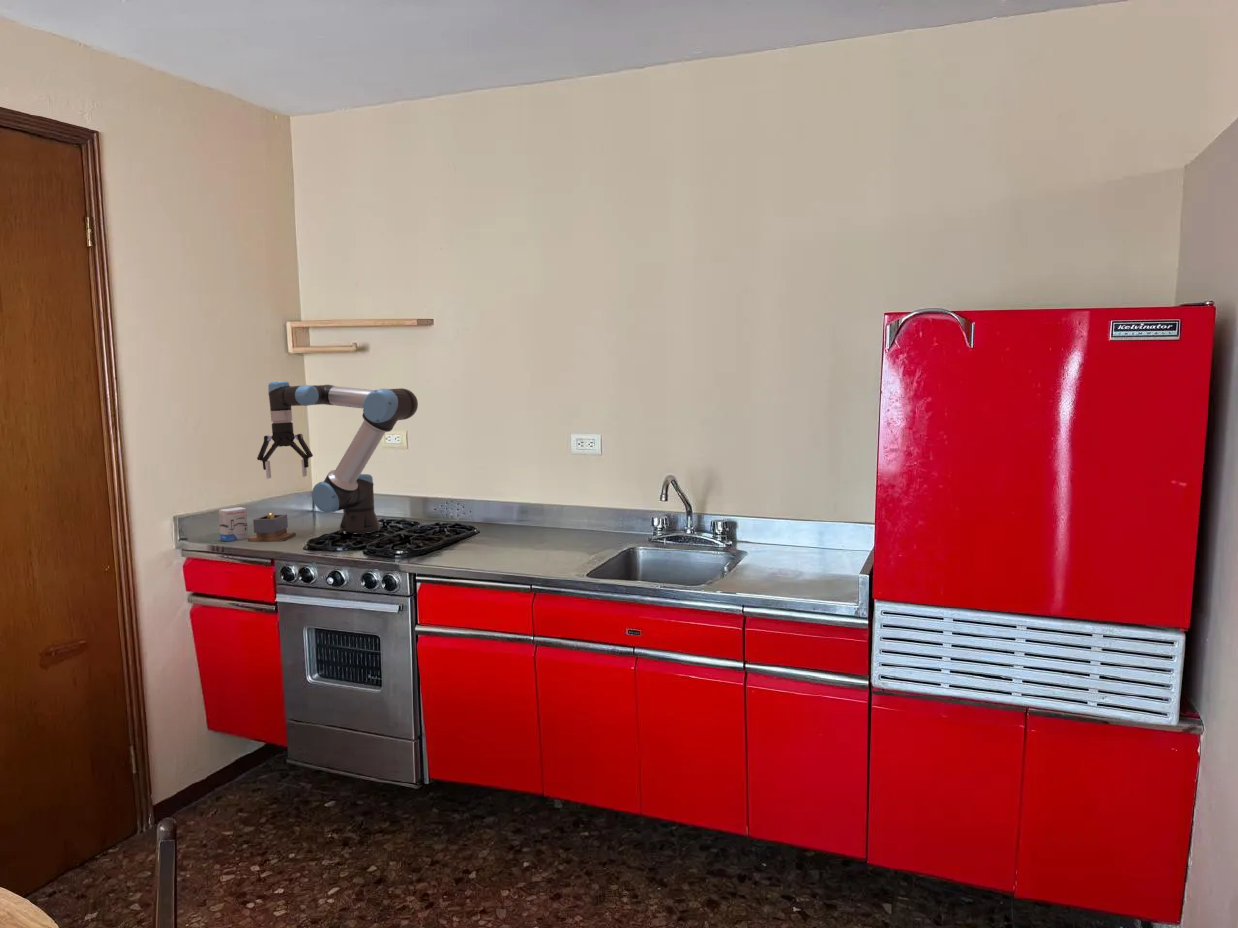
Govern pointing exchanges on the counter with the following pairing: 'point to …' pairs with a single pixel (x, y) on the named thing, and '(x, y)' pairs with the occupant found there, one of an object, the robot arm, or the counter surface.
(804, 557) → the counter surface
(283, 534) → the stand
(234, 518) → the ink box
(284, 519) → the collar
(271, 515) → the post
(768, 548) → the counter surface
